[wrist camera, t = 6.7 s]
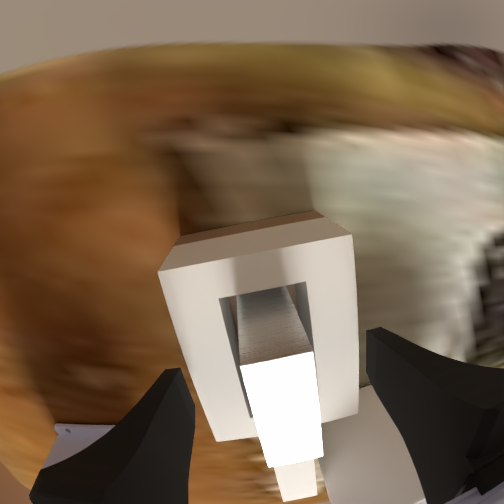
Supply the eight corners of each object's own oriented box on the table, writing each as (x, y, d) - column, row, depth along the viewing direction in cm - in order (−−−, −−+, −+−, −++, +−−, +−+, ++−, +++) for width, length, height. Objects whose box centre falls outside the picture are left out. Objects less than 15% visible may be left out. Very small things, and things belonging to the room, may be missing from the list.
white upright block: (255, 362, 16) (268, 467, 10) (235, 276, 15) (240, 366, 8) (292, 354, 16) (323, 456, 10) (278, 267, 15) (313, 350, 8)
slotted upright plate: (247, 461, 22) (252, 517, 16) (180, 236, 16) (157, 271, 11) (334, 444, 22) (352, 497, 16) (314, 210, 16) (352, 233, 11)
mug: (457, 354, 20) (534, 436, 10) (435, 425, 22) (486, 503, 13) (311, 392, 20) (353, 522, 10) (310, 461, 22) (336, 564, 12)
